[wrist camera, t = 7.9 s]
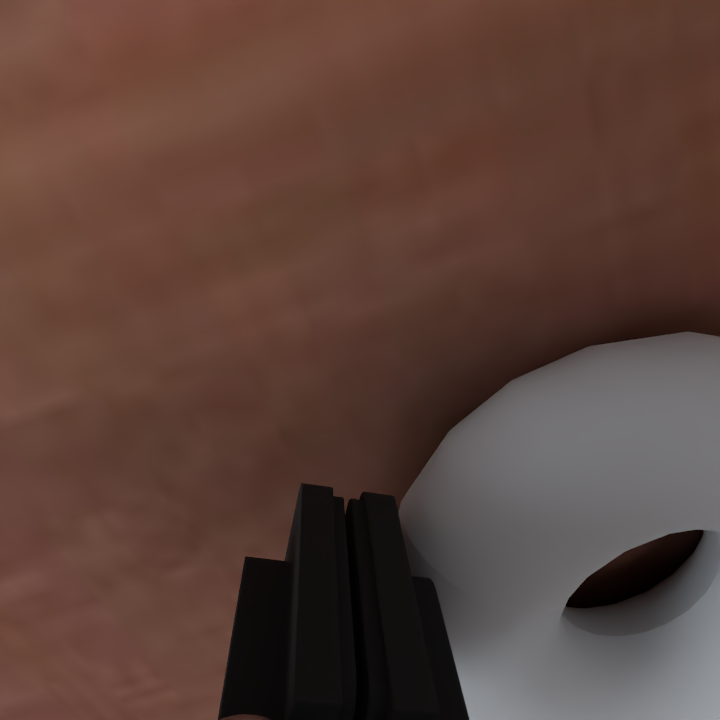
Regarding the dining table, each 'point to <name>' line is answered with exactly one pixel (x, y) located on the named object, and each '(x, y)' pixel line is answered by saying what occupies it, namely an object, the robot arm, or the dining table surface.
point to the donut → (579, 535)
